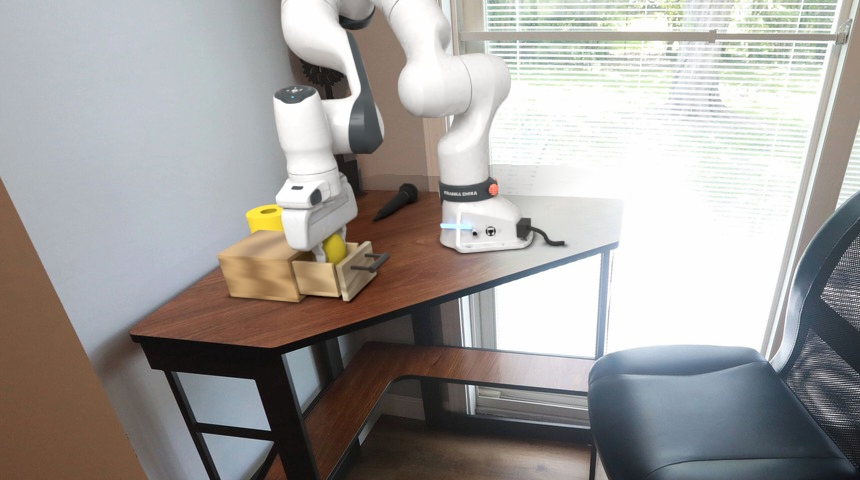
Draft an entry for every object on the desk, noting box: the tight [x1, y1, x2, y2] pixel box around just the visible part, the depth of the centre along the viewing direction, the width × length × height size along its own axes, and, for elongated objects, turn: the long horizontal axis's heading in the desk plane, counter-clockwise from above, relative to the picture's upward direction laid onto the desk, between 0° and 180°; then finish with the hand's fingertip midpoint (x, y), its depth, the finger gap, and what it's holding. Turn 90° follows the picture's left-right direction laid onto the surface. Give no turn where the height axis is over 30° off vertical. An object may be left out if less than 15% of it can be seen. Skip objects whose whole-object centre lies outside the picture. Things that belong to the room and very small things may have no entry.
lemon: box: [322, 232, 347, 270], centre depth 111 cm, size 6×6×8 cm
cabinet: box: [216, 230, 309, 303], centre depth 116 cm, size 16×14×9 cm
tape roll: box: [245, 203, 284, 234], centre depth 133 cm, size 10×10×9 cm
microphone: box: [372, 182, 419, 222], centre depth 155 cm, size 6×6×20 cm
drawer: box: [290, 240, 391, 302], centre depth 113 cm, size 20×12×7 cm, turn 76°
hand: (332, 254), depth 112 cm, fingers closed on lemon, 5 cm apart
